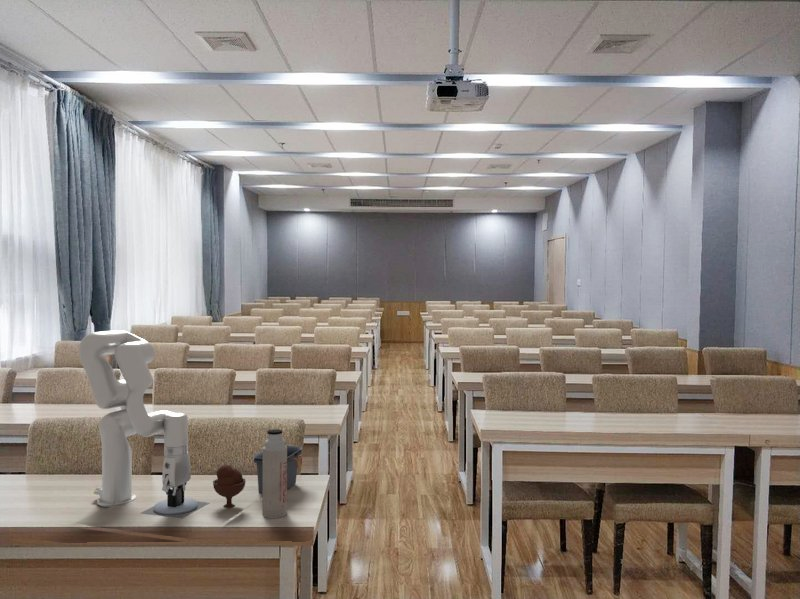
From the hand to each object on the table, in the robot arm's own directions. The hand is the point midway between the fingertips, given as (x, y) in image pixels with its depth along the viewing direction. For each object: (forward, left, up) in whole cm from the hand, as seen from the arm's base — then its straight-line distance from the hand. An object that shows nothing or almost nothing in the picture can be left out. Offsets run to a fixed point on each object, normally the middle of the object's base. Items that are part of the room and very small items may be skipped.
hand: (175, 504), depth 225 cm
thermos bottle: (+33, +7, -2) cm, 34 cm away
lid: (0, 0, -1) cm, 1 cm away
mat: (0, 0, -2) cm, 2 cm away
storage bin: (+23, +32, -3) cm, 39 cm away
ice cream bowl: (+16, +7, -2) cm, 18 cm away
